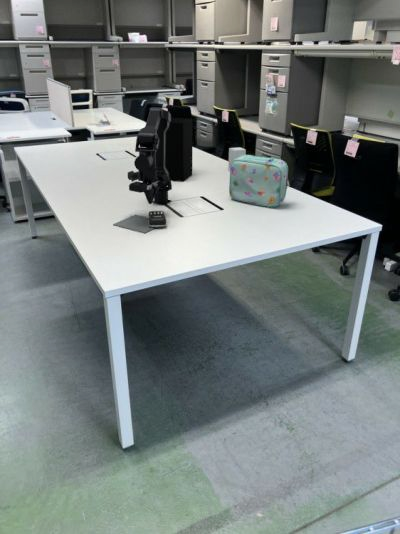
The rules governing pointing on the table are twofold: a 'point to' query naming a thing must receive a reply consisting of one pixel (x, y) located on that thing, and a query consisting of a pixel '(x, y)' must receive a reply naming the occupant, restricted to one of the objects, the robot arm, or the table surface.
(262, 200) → the lunch box
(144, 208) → the table surface
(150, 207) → the table surface
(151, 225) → the battery charger
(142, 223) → the mat
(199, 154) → the table surface
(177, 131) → the video game console
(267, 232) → the table surface
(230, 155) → the supplement box
